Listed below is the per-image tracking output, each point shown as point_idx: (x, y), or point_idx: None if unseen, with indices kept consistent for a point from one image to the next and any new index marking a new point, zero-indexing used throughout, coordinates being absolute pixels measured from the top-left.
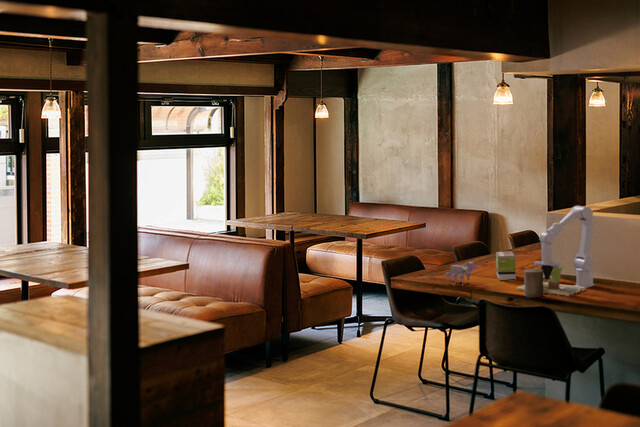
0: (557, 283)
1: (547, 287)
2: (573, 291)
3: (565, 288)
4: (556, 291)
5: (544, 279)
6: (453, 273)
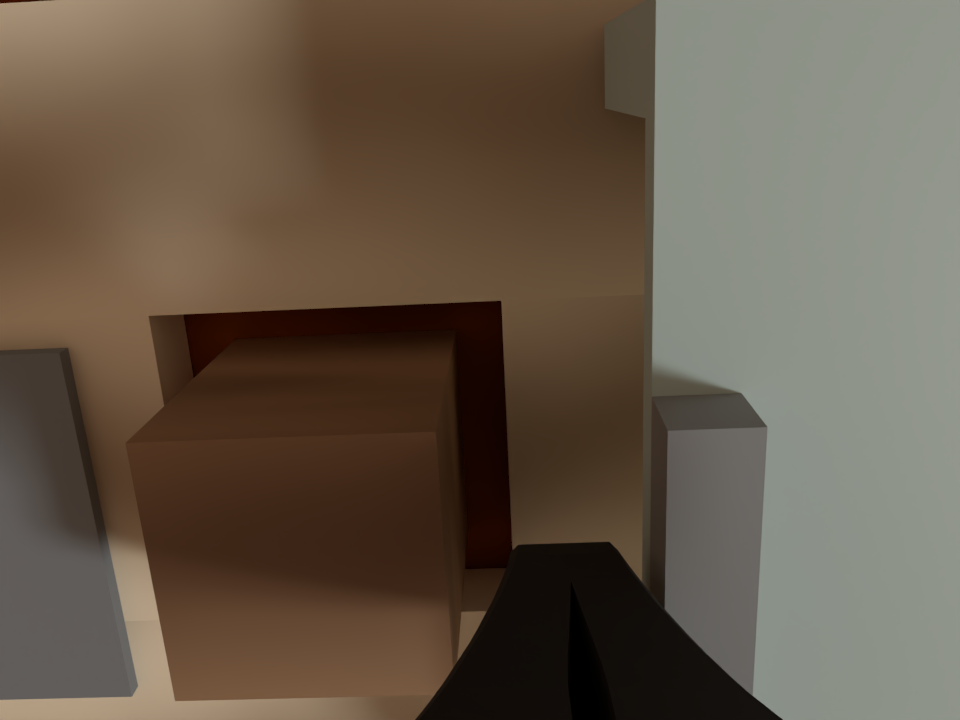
0: (161, 559)
1: (567, 489)
2: None
3: (44, 581)
4: (15, 135)
5: (647, 517)
6: None
